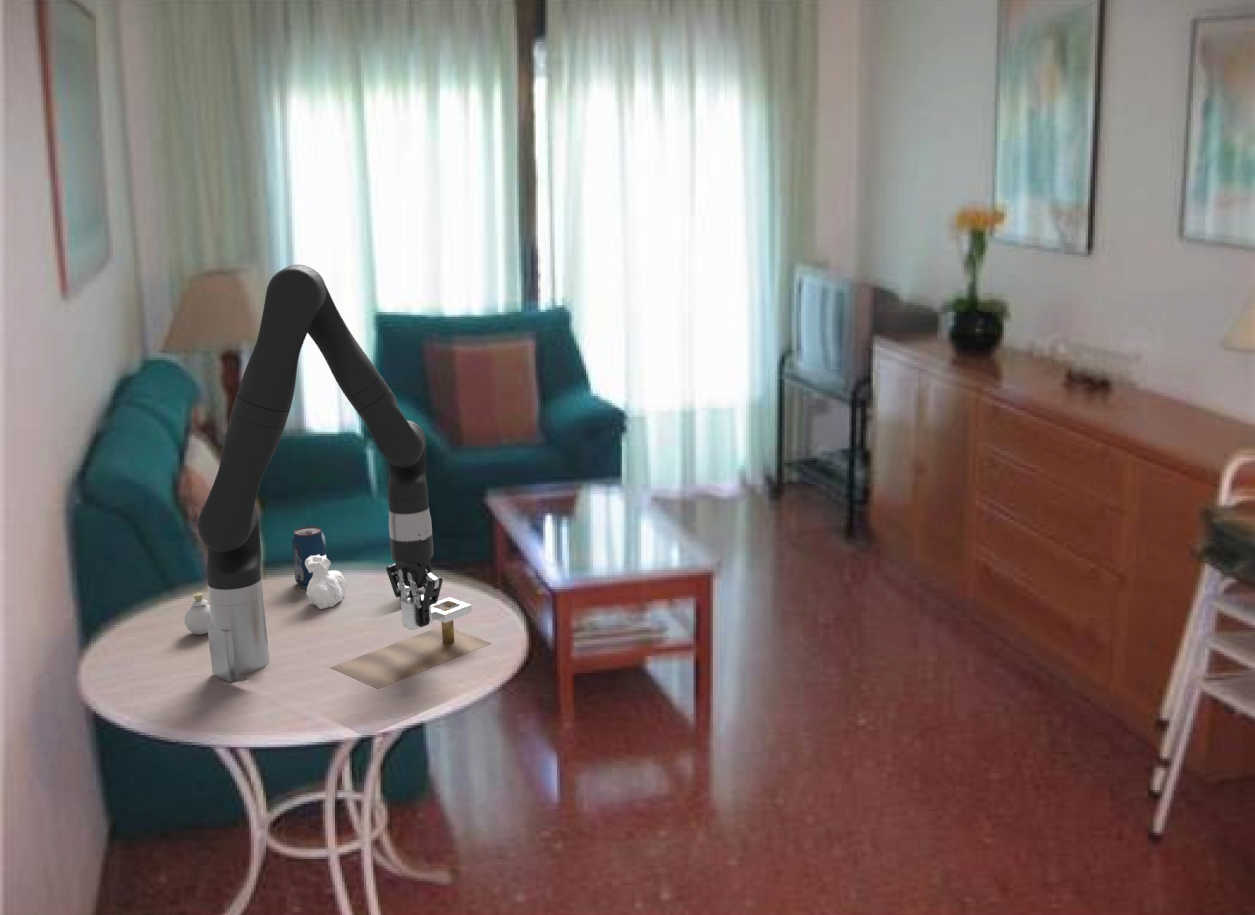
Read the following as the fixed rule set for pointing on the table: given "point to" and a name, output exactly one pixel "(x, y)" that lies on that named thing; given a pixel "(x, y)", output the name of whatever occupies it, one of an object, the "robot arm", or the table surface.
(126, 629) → the table surface
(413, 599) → the steel link
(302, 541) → the soda can
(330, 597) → the white tied bag
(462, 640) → the board
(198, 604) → the white potion bottle
